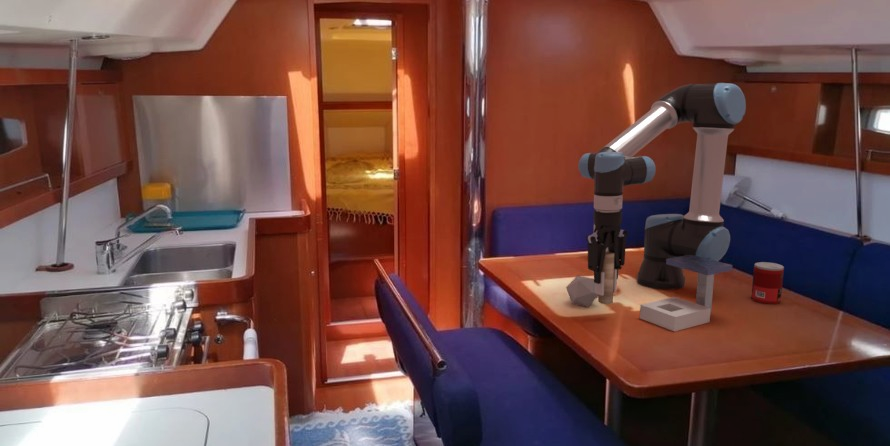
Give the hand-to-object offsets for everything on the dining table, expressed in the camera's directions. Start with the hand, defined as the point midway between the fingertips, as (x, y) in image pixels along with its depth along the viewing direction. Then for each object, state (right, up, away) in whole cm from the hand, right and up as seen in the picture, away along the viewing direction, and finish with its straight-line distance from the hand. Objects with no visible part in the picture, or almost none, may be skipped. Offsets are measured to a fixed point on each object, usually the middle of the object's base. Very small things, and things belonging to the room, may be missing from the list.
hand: (605, 292), depth 176 cm
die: (-4, -5, +14) cm, 15 cm away
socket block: (+19, -8, 0) cm, 20 cm away
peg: (0, -3, +1) cm, 3 cm away
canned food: (+53, -4, +17) cm, 56 cm away
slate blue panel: (+26, -7, +4) cm, 27 cm away
